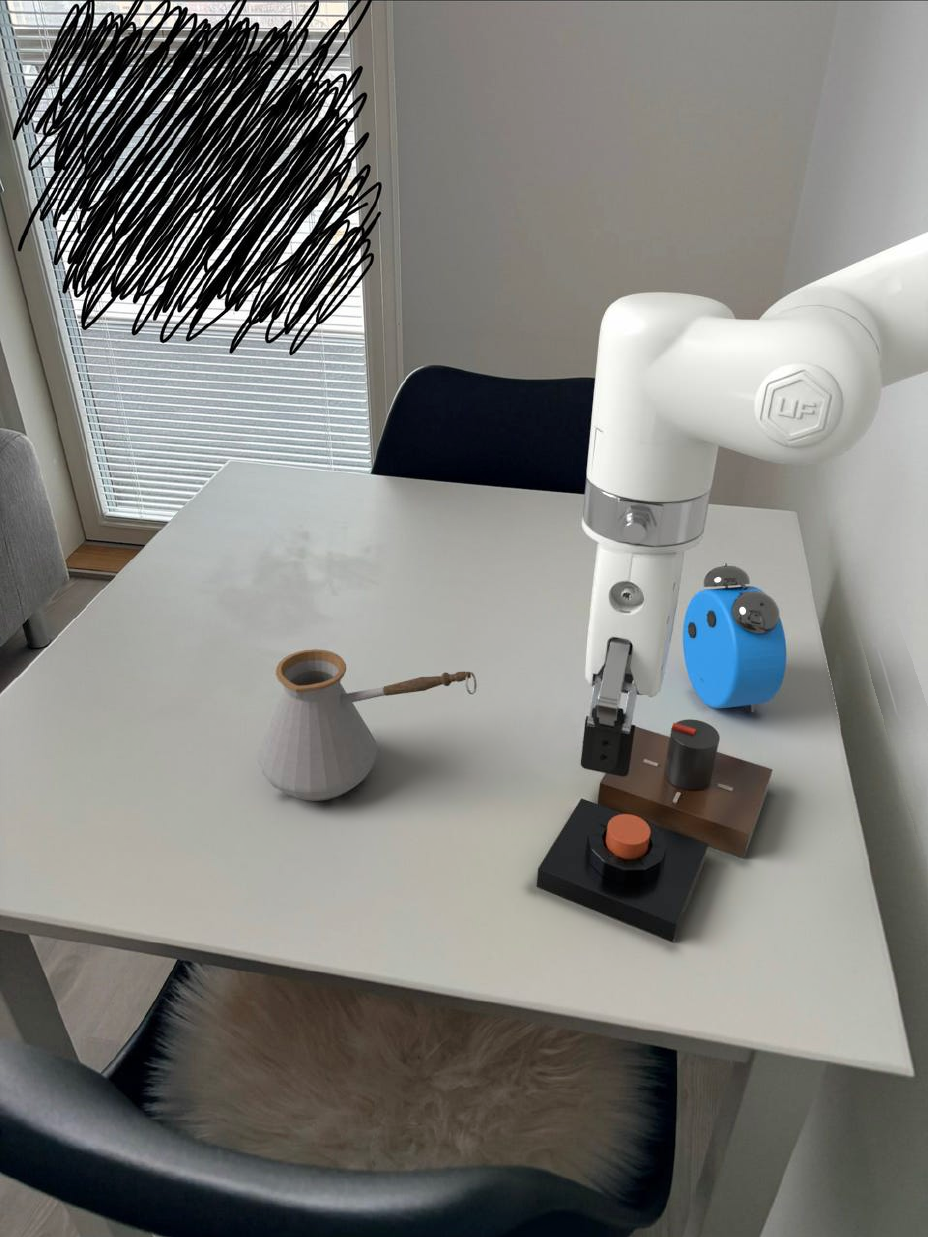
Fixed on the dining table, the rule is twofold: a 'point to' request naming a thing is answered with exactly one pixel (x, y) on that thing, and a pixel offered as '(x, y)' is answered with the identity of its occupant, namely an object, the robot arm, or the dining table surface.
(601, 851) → the black button base
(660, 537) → the robot arm
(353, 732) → the coffee pot
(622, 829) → the push knob
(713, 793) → the dial panel
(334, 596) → the dining table surface
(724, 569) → the alarm clock
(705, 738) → the dial
